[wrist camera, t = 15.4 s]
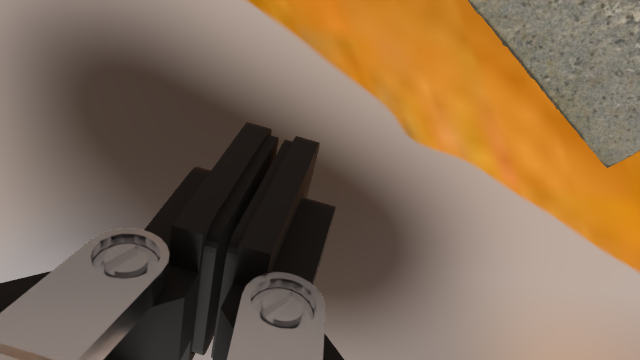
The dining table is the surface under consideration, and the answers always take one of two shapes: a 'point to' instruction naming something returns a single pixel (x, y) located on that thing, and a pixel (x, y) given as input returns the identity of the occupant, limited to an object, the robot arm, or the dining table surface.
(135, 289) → the robot arm
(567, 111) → the stone block
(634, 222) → the dining table surface
